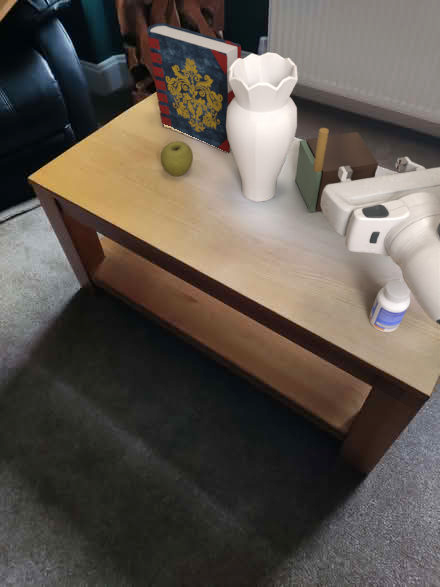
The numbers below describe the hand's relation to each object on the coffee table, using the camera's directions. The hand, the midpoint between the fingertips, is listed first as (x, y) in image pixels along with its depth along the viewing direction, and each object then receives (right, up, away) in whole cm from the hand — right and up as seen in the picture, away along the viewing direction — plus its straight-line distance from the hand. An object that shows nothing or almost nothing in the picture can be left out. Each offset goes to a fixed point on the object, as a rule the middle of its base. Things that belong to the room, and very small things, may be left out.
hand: (371, 165), depth 67 cm
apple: (-34, +11, +42) cm, 55 cm away
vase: (-14, +4, +36) cm, 39 cm away
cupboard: (+3, +4, +35) cm, 35 cm away
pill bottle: (+6, -25, +12) cm, 29 cm away
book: (-30, +24, +52) cm, 64 cm away
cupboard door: (-4, +3, +34) cm, 34 cm away
